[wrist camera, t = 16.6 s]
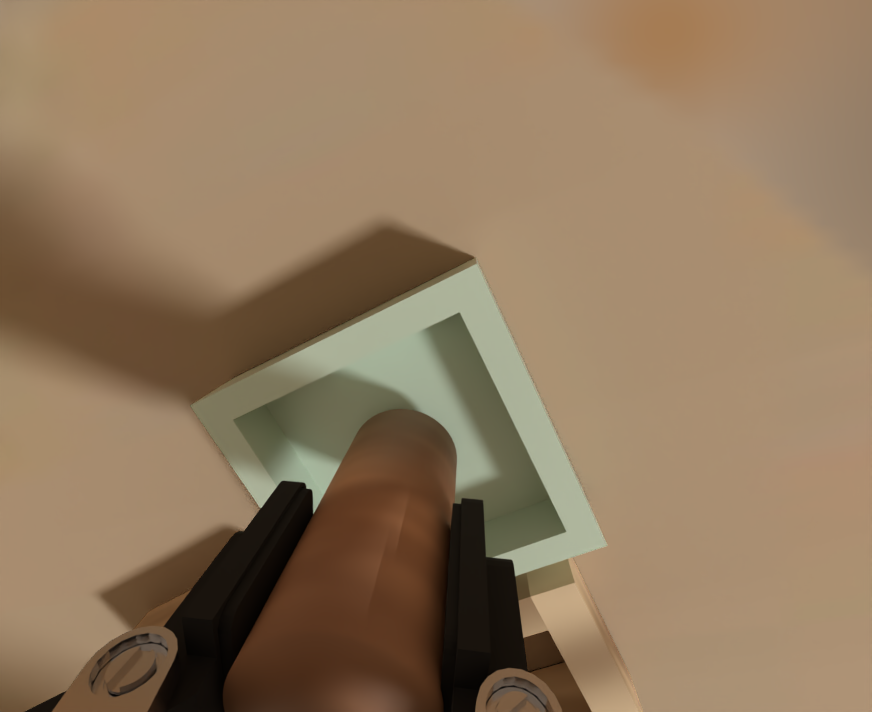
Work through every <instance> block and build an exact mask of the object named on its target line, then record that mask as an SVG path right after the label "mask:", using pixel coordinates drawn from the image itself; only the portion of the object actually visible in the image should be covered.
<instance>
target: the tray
mask: <svg viewBox="0 0 872 712" xmlns="http://www.w3.org/2000/svg"><path fill="white" fill-rule="evenodd" d="M190 406H191V408H192V409H193V411H194V412H195V414H196V415H197V417H198V418H199V420H200V421H201V422H202V424H203V425H204V427H205V428H206V430H207V431H208V433H209V434H210V436H211V437H212V438H213V440H214V441H215V443H216V444H217V446H218V447H219V449H220V450H221V452H222V453H223V455H224V456H225V457H226V459H227V460H228V462H229V463H230V465H231V466H232V468H233V469H234V471H235V472H236V473H237V475H238V476H239V478H240V479H241V481H242V482H243V484H244V485H245V487H246V488H247V489H248V491H249V492H250V494H251V495H252V497H253V498H254V500H255V501H256V503H257V504H258V505H259V507H260V508H262V506H263V505H264V504H265V502H266V501H267V499H268V498H269V497H270V495H271V494H272V493H273V491H274V490H275V489H276V487H277V486H278V485H279V483H280V482H281V481H294V482H304V483H305V484H306V489H311V490H312V492H313V514H314V512H315V510H316V509H317V507H318V505H319V503H320V501H321V499H322V497H323V495H324V494H325V492H326V490H327V488H328V486H329V484H330V482H331V481H332V479H333V477H334V475H335V473H336V471H337V469H338V468H339V466H340V464H341V462H342V460H343V458H344V456H345V454H346V453H347V451H348V449H349V447H350V445H351V443H352V441H353V440H354V438H355V436H356V434H357V432H358V431H359V429H360V428H361V426H362V425H363V424H364V423H365V422H366V421H367V420H369V419H370V418H371V417H373V416H375V415H377V414H379V413H381V412H384V411H388V410H392V409H409V410H415V411H418V412H421V413H424V414H426V415H428V416H430V417H432V418H434V419H435V420H436V421H438V422H439V423H440V424H441V425H442V426H443V427H444V428H445V429H446V430H447V431H448V433H449V434H450V436H451V438H452V440H453V442H454V444H455V448H456V453H457V469H456V488H455V503H458V504H461V499H462V498H468V499H478V500H483V505H484V525H485V545H486V557H492V558H501V559H511V560H512V561H513V564H514V570H515V576H517V575H520V574H523V573H526V572H529V571H532V570H535V569H538V568H541V567H545V566H548V565H551V564H554V563H557V562H560V561H563V560H566V559H569V558H572V557H575V556H578V555H581V554H584V553H587V552H590V551H593V550H596V549H599V548H602V547H605V546H607V543H606V541H605V539H604V536H603V534H602V532H601V529H600V527H599V525H598V522H597V520H596V518H595V515H594V513H593V511H592V508H591V506H590V504H589V502H588V499H587V497H586V495H585V493H584V491H583V488H582V486H581V484H580V482H579V480H578V478H577V475H576V473H575V471H574V469H573V467H572V465H571V462H570V460H569V458H568V456H567V454H566V452H565V449H564V447H563V445H562V443H561V441H560V439H559V436H558V434H557V432H556V430H555V428H554V426H553V423H552V421H551V419H550V417H549V415H548V413H547V410H546V408H545V406H544V404H543V402H542V400H541V397H540V395H539V393H538V391H537V389H536V387H535V384H534V382H533V380H532V378H531V376H530V374H529V371H528V369H527V367H526V365H525V363H524V361H523V358H522V356H521V354H520V352H519V350H518V348H517V345H516V343H515V341H514V339H513V337H512V335H511V333H510V330H509V328H508V326H507V324H506V322H505V320H504V317H503V315H502V313H501V311H500V309H499V307H498V304H497V302H496V300H495V298H494V296H493V294H492V291H491V289H490V287H489V285H488V283H487V281H486V278H485V276H484V274H483V272H482V270H481V268H480V265H479V263H478V261H477V259H476V258H474V259H472V260H470V261H468V262H466V263H464V264H462V265H460V266H458V267H456V268H454V269H452V270H450V271H448V272H446V273H444V274H442V275H439V276H437V277H435V278H433V279H431V280H429V281H427V282H425V283H423V284H421V285H419V286H417V287H415V288H413V289H411V290H409V291H407V292H405V293H403V294H401V295H399V296H397V297H395V298H393V299H391V300H389V301H387V302H385V303H383V304H381V305H379V306H377V307H375V308H373V309H371V310H369V311H367V312H365V313H363V314H361V315H359V316H357V317H355V318H353V319H351V320H349V321H347V322H345V323H343V324H341V325H339V326H337V327H335V328H333V329H331V330H329V331H327V332H325V333H323V334H321V335H319V336H317V337H315V338H313V339H311V340H309V341H307V342H305V343H303V344H301V345H299V346H297V347H295V348H293V349H291V350H289V351H287V352H285V353H283V354H281V355H279V356H277V357H275V358H273V359H271V360H269V361H267V362H265V363H263V364H261V365H259V366H257V367H255V368H253V369H251V370H249V371H247V372H245V373H243V374H241V375H239V376H237V377H235V378H233V379H231V380H229V381H228V382H226V383H225V384H223V385H221V386H220V387H218V388H217V389H215V390H214V391H212V392H210V393H209V394H207V395H206V396H204V397H203V398H201V399H199V400H198V401H196V402H195V403H193V404H192V405H190Z"/></svg>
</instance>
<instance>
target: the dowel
mask: <svg viewBox="0 0 872 712" xmlns="http://www.w3.org/2000/svg"><path fill="white" fill-rule="evenodd" d="M456 469H457V453H456V448H455V444H454V442H453V440H452V438H451V436H450V434H449V433H448V431H447V430H446V429H445V428H444V427H443V426H442V425H441V424H440V423H439V422H438V421H436V420H435V419H434V418H432V417H430V416H428V415H426V414H424V413H421V412H418V411H415V410H409V409H392V410H388V411H384V412H381V413H379V414H377V415H375V416H373V417H371V418H370V419H369V420H367V421H366V422H365V423H364V424H363V425H362V426H361V428H360V429H359V431H358V432H357V434H356V436H355V438H354V440H353V441H352V443H351V445H350V447H349V449H348V451H347V453H346V454H345V456H344V458H343V460H342V462H341V464H340V466H339V468H338V469H337V471H336V473H335V475H334V477H333V479H332V481H331V482H330V484H329V486H328V488H327V490H326V492H325V494H324V495H323V497H322V499H321V501H320V503H319V505H318V507H317V509H316V510H315V512H314V514H313V516H312V518H311V520H310V522H309V523H308V525H307V527H306V529H305V531H304V533H303V535H302V536H301V538H300V540H299V542H298V544H297V546H296V548H295V550H294V551H293V553H292V555H291V557H290V559H289V561H288V563H287V564H286V566H285V568H284V570H283V572H282V574H281V576H280V578H279V579H278V581H277V583H276V585H275V587H274V589H273V591H272V592H271V594H270V596H269V598H268V600H267V602H266V604H265V605H264V607H263V609H262V611H261V613H260V615H259V617H258V619H257V620H256V622H255V624H254V626H253V628H252V630H251V632H250V633H249V635H248V637H247V639H246V641H245V643H244V645H243V646H242V648H241V650H240V652H239V654H238V656H237V658H236V660H235V661H234V663H233V665H232V667H231V669H230V671H229V673H228V674H227V677H226V680H225V683H224V688H223V706H224V710H225V712H444V702H443V697H442V692H441V673H442V657H443V642H444V626H445V610H446V594H447V578H448V563H449V547H450V531H451V519H452V507H453V503H455V488H456Z"/></svg>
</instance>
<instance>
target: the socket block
mask: <svg viewBox="0 0 872 712" xmlns="http://www.w3.org/2000/svg"><path fill="white" fill-rule="evenodd" d="M515 577H516V585H517V593H518V601H519V608H520V616H521V624H522V631H523V638H524V637H528V636H531V635H534V634H538V633H541V632H544V631H549V632H550V634H551V636H552V638H553V640H554V642H555V644H556V646H557V647H558V649H559V651H560V653H561V655H562V657H563V659H564V660H565V662H564V663H561V664H557V665H553V666H550V667H546V668H543V669H539V670H536V671H532V672H529V673H531V674H534V675H535V676H536V677H538V678H539V679H540V680H542V681H543V682H544V683H546V685H547V686H548V687H549V688H550V690H551V691H552V692H553V693H554V694H555V696H556V698H557V700H558V702H559V704H560V706H561V709H562V712H643V710H642V707H641V704H640V702H639V699H638V696H637V693H636V690H635V688H634V685H633V682H632V679H631V676H630V674H629V672H628V670H627V668H626V665H625V663H624V661H623V659H622V657H621V655H620V653H619V651H618V649H617V647H616V645H615V643H614V641H613V639H612V637H611V635H610V633H609V631H608V629H607V627H606V625H605V623H604V621H603V619H602V617H601V615H600V613H599V611H598V608H597V606H596V604H595V602H594V600H593V598H592V596H591V594H590V592H589V590H588V588H587V586H586V584H585V582H584V580H583V578H582V576H581V574H580V572H579V570H578V568H577V566H576V564H575V562H574V560H573V558H569V559H566V560H563V561H560V562H557V563H554V564H551V565H548V566H545V567H541V568H538V569H535V570H532V571H529V572H526V573H523V574H520V575H517V576H515Z"/></svg>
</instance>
